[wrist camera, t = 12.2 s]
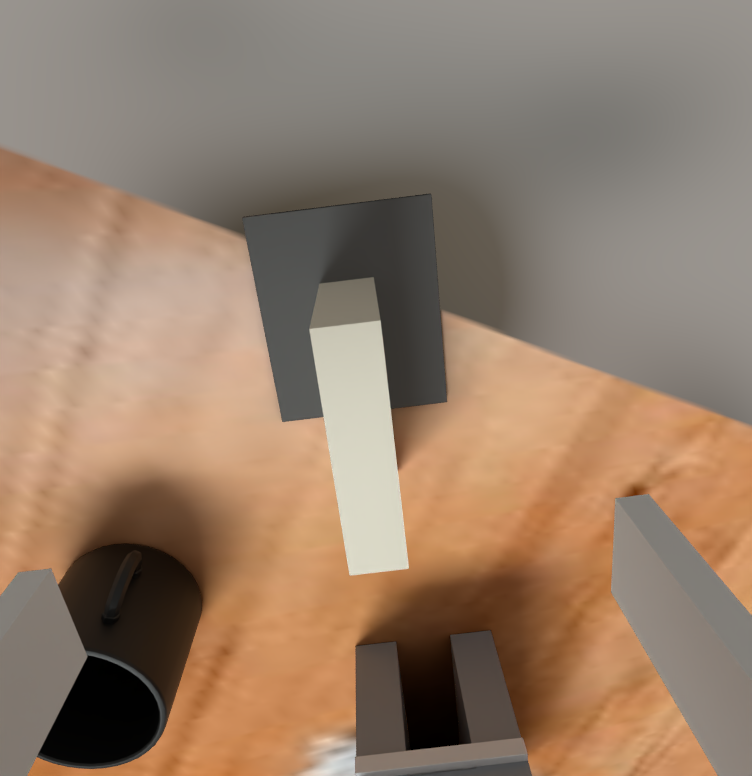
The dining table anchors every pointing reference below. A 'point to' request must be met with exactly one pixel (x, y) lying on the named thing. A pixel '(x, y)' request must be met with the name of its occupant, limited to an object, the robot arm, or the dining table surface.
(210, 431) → the dining table surface
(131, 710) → the mug
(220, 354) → the dining table surface
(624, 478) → the dining table surface
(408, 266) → the mat
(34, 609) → the robot arm
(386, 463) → the cream upright slab
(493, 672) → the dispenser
